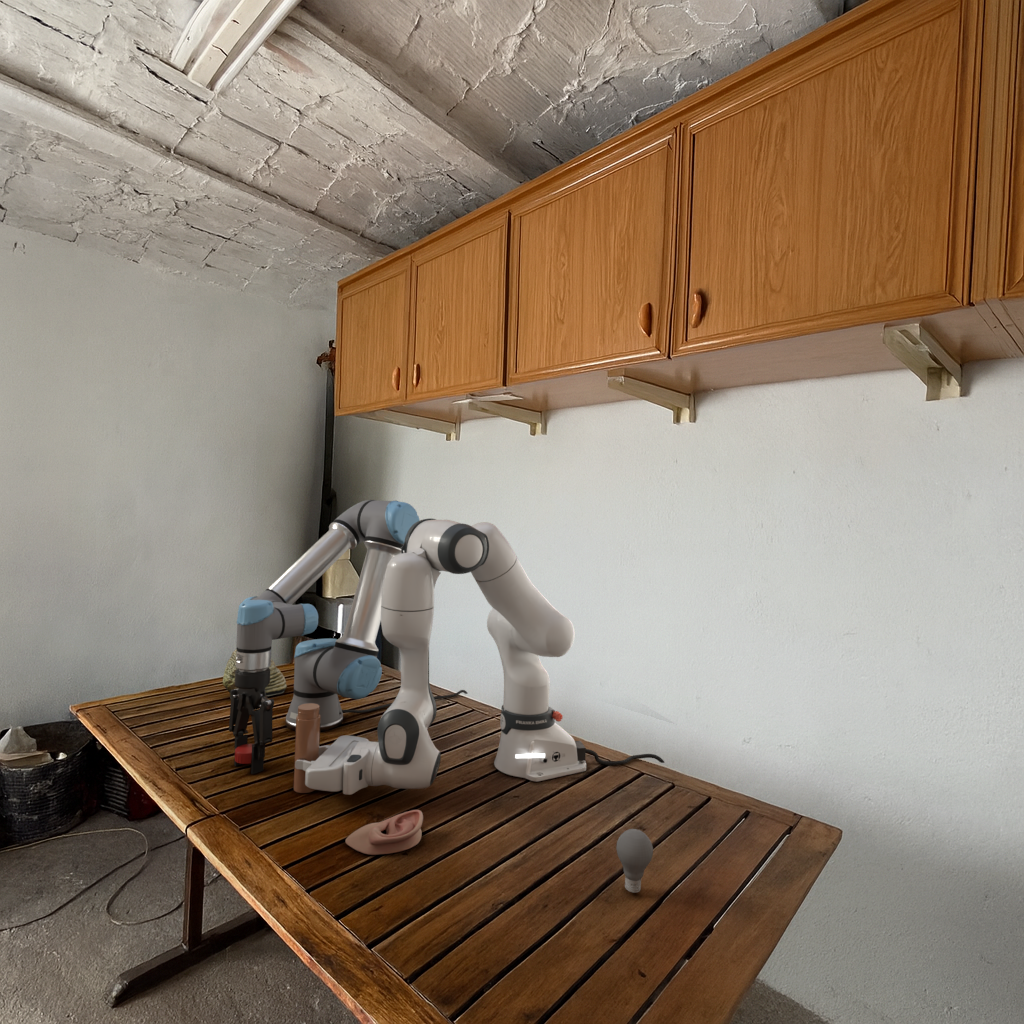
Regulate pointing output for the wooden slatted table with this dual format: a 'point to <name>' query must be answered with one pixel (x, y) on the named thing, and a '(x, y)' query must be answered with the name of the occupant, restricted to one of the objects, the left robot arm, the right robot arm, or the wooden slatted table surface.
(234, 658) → the fossil
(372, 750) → the right robot arm
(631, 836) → the light bulb
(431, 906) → the wooden slatted table surface
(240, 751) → the lid
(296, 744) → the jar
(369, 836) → the anatomical model
